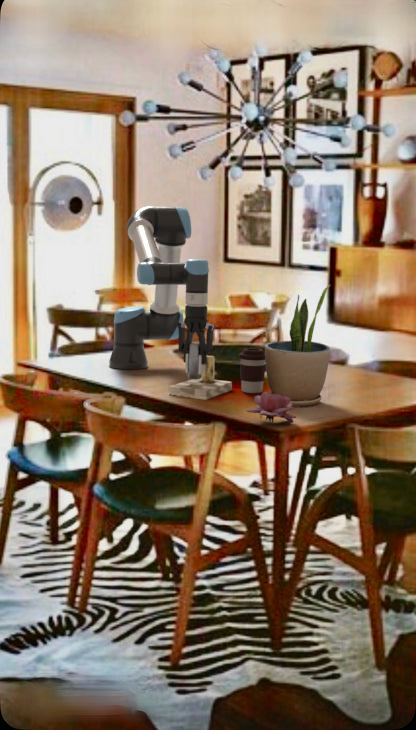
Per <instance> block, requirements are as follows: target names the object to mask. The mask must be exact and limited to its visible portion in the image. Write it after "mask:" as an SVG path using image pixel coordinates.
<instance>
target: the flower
mask: <svg viewBox="0 0 416 730" xmlns="http://www.w3.org/2000/svg"><path fill="white" fill-rule="evenodd" d="M253 400H254V403H255V405H257V406H256V408H246V410H245V411H246V412H248V413H252V414H254V413H255V414H259V415H260V418H262V416H266V417H265V421H267V420H269V422H270V423H272V424H274V418H282V419H285V420H286V421H288V422H289V424H290V425H291V424H293V423H294V422H295V421H294V420H293V419H296V418H297V416H296V415H293V414H291V413H288V411H292V410H293V409H294V408H295V407H293V406H292V403H290V404H289V402H290V401H291V399H290V398H288V397H286V396H285V397H284V396H280V395H278V394H271V392H269V391H264V392H263V391H262V392H261V395H259V394H258V395H254V397H253Z"/></svg>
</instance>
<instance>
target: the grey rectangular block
mask: <svg viewBox="0 0 416 730" xmlns="http://www.w3.org/2000/svg"><path fill="white" fill-rule="evenodd" d="M200 354H201V351H200V345H199V341H198V342H191V343H189V366H188V373H187V378H188V380H191V379H201V378H202V374H198V372H199V355H200Z"/></svg>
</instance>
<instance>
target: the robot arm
mask: <svg viewBox="0 0 416 730" xmlns="http://www.w3.org/2000/svg"><path fill="white" fill-rule="evenodd" d="M191 221H192V220H191V217H190V213H189V210H188V209H187V208H185V207H180V206H152V205H151V206H150V205H149V206H144V207H140V208H139V209H137V210H136V211H135V212H133V214H131V216H130V217H129V219H128V221H127V224H126V232H127V235H128V238H129V239H130V240H131V241H132V242H133V245H134V249H135V251H136V255H137V258H138V261H139V263H138V264H137V266H136V267H137V268H136V277H137V282H138V284H140V285H147V286H153V285H154V286H155V290H154V291H155V292H154V301H153V302H152V303H151V304H150V305H149V306H150V307H149V310H145V307H143V306H129V307H122V308H120V309H117V310H115V312H114V317H113V327H114V329H113V331H114V332H113V349H112V351H111V354H110V357H109V360H108V361H109V367H110V368H113V369H119V370H140V369H145V368H148V365H149V364H148V363H149V361H148V358H147V354H146V351H145V347H144V344H145V343H144V341H159V340H160V341H162V340H163V341H170V340H177V339H178V351H179V352H182V353H183V363H185V370H184V371H185V373H186V374H188V366H189V343H191V342H192V341H193V337H194V335H195V333H196V335H197V338H198V343H199V345H200V351H201V354H200V355H199V372H198V374H201V375H202V374H203V373H204V364H206V363H207V356H208V355H209V354H213V341H214V331H215V327H216V325H215V324H211V323H209V322H208V303H209V300H208V297H209V296H208V295H209V294H208V292H209V290H208V289H209V272H210V269H209V262H208V260H207V259H204V258H189V259H187V260H186V262H180V261H181V253H182V252H181V251H182V247H183V246H185V245H186V241H187V240H189V239H190V238H191V236H192V222H191ZM157 246H158V247H157ZM179 285H180V286H181V285H183V286H185V301H184V302H185V304H186V305H185V307H184V309H185V310H184V311H185V312H184V313H183V311H182V310H181V309H180V306H179V305H178V304H177V299H178V286H179ZM184 315H185V318H184ZM186 328H187V330H186ZM205 328H206V333H205ZM205 334H206V336H205Z"/></svg>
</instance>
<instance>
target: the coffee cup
mask: <svg viewBox="0 0 416 730" xmlns="http://www.w3.org/2000/svg"><path fill="white" fill-rule="evenodd" d="M238 358H239V360H240V363H239V368H240V369H239V371H240V374H239V375H240V380H241V381H240V384H241V392H243V393H246V394H259V393H262V392H263V389H264V388H263V387H264V381H265V375H266V374H265V372H266V362H265V350H263V349H262V348H257V347H249V348H247V347H245V348H243V350H242V352H239V353H238Z"/></svg>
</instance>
